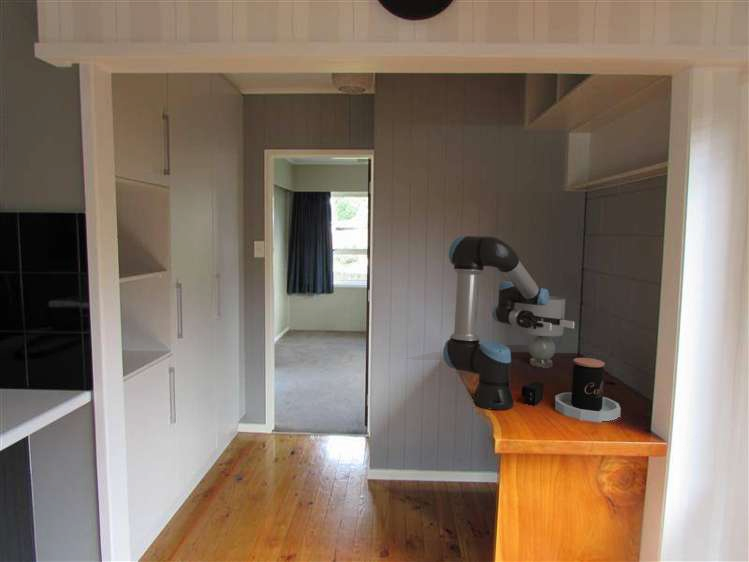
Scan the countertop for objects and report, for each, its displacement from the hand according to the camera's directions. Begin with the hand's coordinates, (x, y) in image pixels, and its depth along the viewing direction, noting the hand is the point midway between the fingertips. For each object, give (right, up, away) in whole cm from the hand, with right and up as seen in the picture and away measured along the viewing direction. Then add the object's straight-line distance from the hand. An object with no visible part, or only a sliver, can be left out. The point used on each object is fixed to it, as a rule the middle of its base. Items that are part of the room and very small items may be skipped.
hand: (562, 326), depth 188 cm
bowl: (+4, -31, -12) cm, 33 cm away
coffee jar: (+4, -30, -12) cm, 32 cm away
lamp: (+11, -26, +55) cm, 62 cm away
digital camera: (-13, -30, -2) cm, 33 cm away
